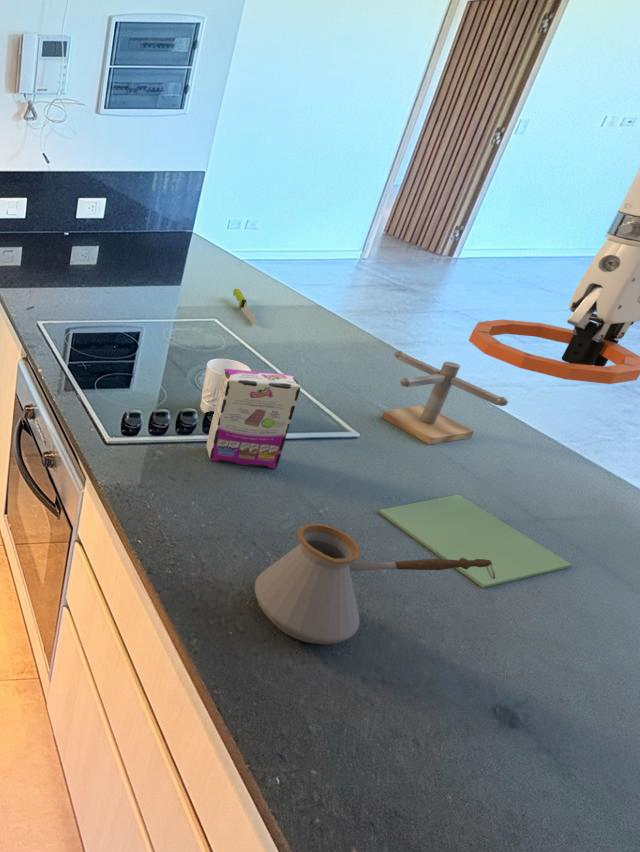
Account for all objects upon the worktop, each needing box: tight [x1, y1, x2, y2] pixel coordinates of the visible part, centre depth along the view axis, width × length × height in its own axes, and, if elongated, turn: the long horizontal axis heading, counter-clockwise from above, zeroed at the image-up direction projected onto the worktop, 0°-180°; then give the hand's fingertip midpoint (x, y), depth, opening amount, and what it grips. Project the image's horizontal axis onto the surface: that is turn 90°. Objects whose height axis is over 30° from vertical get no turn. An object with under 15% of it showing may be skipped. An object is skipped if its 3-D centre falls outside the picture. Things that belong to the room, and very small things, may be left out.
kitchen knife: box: [232, 288, 259, 325], centre depth 173 cm, size 22×1×3 cm, turn 170°
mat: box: [377, 494, 573, 589], centre depth 92 cm, size 16×16×1 cm
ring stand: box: [381, 350, 509, 446], centre depth 116 cm, size 15×21×14 cm
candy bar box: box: [205, 369, 302, 469], centre depth 107 cm, size 11×5×16 cm, turn 76°
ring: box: [468, 318, 640, 385], centre depth 81 cm, size 16×16×2 cm
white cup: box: [199, 358, 252, 414], centre depth 123 cm, size 8×8×10 cm
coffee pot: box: [254, 523, 495, 645], centre depth 74 cm, size 21×12×15 cm, turn 69°
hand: (582, 362), depth 84 cm, fingers closed on ring, 1 cm apart
